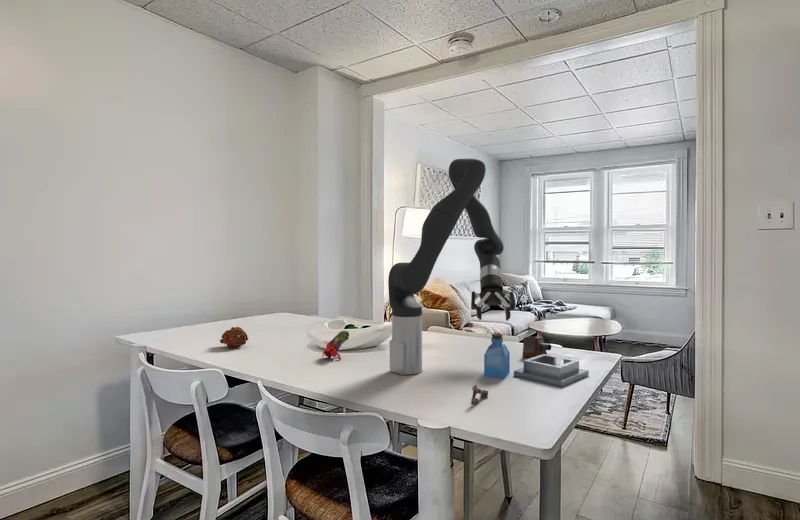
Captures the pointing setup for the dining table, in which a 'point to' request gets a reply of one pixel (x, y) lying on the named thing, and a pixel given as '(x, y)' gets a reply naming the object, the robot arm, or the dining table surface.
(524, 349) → the electronic device
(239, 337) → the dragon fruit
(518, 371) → the grey square frame
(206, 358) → the dining table surface
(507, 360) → the perfume bottle
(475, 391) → the wooden post with brackets
